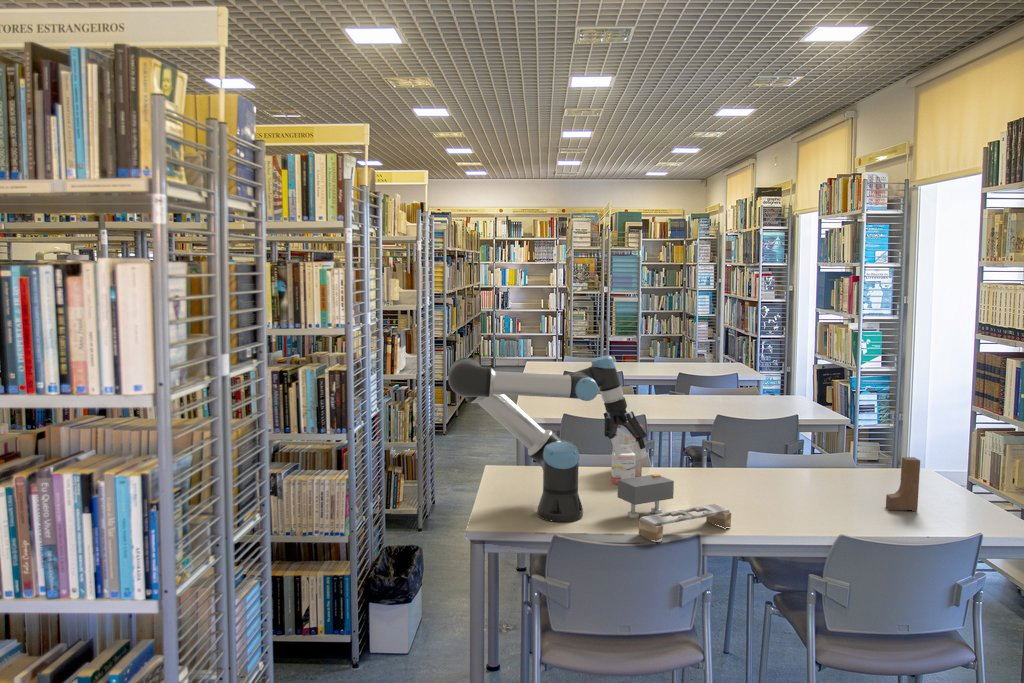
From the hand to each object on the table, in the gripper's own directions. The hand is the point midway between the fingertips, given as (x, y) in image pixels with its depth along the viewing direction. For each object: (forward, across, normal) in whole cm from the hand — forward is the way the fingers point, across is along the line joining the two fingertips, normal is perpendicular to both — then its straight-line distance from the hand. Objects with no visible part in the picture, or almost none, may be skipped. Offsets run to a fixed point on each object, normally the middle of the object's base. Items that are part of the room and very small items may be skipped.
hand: (631, 456), depth 264 cm
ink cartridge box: (+17, +22, -9) cm, 29 cm away
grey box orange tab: (+16, -11, +10) cm, 22 cm away
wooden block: (+45, -49, -68) cm, 95 cm away
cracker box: (+19, +32, -20) cm, 43 cm away
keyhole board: (+19, -30, +10) cm, 37 cm away
